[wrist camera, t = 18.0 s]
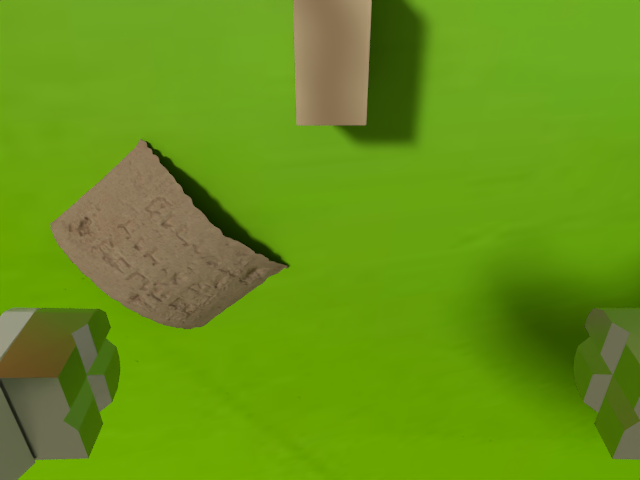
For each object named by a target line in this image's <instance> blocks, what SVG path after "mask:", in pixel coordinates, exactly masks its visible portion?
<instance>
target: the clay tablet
mask: <svg viewBox="0 0 640 480" xmlns="http://www.w3.org/2000/svg"><path fill="white" fill-rule="evenodd" d="M51 230H52V232H53V236H54V238H55V239H56V241H57V243H58V245H59V247H60V248H62V249H63V251H64V253H66V254H67V255H68V257H69V258H70V260H71V261H72V262H73V263H74V264H76V265H77V267H78V268H79V270H80V271H81V272H82V273H83V274H85V275H86V276H87V277H90V279H91V280H92V281H93V282H94V283H95V284H96V285H97V286H98V287H99V288H100V289H101V290H102V291H104V292H105V293H106V294H107V295H109V296H110V297H111V298H113V299H115V300H117V301H119V302H120V303H121V304H122V305H124V306H125V307H127V308H129V309H131V310H133V311H134V312H137V313H139V314H140V315H141V316H143V317H146V318H149V319H152V320H154V321H155V322H157V323H160V324H163V325H167V326H171V327H176V328H184V329H191V328H194V327H202V326H204V325H206V324H207V323H208V322H209V321H211V320H212V319H213V318H214V317H215V316H217V315H218V314H220V313H221V312H222V311H224V310H225V309H226V308H227V307H229V306H231V305H232V304H234V303H235V302H236V301H238V300H239V299H241V298H242V297H244V296H245V295H246V294H247V293H249V292H250V291H252V290H253V289H254V288H256V287H257V286H259V285H260V284H262V283H263V282H264V281H265V280H266V279H267V278H268V277H269V276H271V275H274V274H277V273H278V272H280V271H281V270H282V269H283V268H288V267H287V265H283V264H279V263H276V262H275V261H269V259H268V258H266V257H265V256H264V255H262V254H255V252H254V251H253V250H251V249H250V248H248V247H247V246H245V245H244V244H242V243H240V242H239V241H236V240H233V239H231V238H228V237H225V236H224V235H223V234H222V232H221V230H220V229H219V228H217V227H215V226H214V225H213V224H212V223H210V222H209V221H208V219H207V217H206V216H205V215H204V214H203V213H202V212H201V211H200V210H199V209H198V208H196V207H194V205H193V203H192V199H191V198H190V197H189V196H187V195H186V194H184V192H183V189H182V187H181V185H180V184H178V183H177V182H176V181H175V178H174V177H173V176H172V175H171V174H170V173H169V171H168V170H167V169H166V168H165V167H164V166H163V165H162V164H161V163H160V161H159V158H158V156H156V155H153V153H152V149H150V148H147V142H145V141H142V140H140V141H139V143H138V145H137V146H136V148H135V149H134V150H132V151H131V152H130V153H129V154H128V155H127V156H126V157H125V158H124V159H123V160H122V161H121V162H120V163H119V164H118V165H117V166H116V167H115V168H113V169H112V170H111V171H110V172H109V173H108V174H107V175H106V176H105V177H104V178H103V179H102V180H101V181H100V182H99V183H98V184H96V185H95V186H94V187H93V188H92V189H91V190H89V191H88V192H87V193H86V194H84V195H83V196H82V197H81V198H80V199H79V200H78V201H77V202H76V203H75V204H74V205H72V206H71V207H70V208H69V209H68V210H66V211H65V212H64V213H63V214H62V215H61V216H60V217H59V218H57V219H56V220H55V221H53V222H52V223H51Z"/></svg>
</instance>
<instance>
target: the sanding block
mask: <svg viewBox="0 0 640 480" xmlns="http://www.w3.org/2000/svg"><path fill="white" fill-rule="evenodd" d="M371 7H372V0H293V9H294V45H295V81H296V117H297V125H366V120H367V98H368V75H369V52H370V30H371Z"/></svg>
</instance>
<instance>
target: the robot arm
mask: <svg viewBox="0 0 640 480" xmlns="http://www.w3.org/2000/svg"><path fill="white" fill-rule="evenodd" d="M584 327H585V329H586V330H587V332H588V334H589V335H590V337H589V338H587V339H586V340H585V341H584V342H582V343H581V344H580V345H579V346H578V347H577V350H576V354H575V357H574V361H573V364H574V379H575V383H576V386H577V390H578V392H579V394H580V396H581V398H582V400H583V402H585V403H586V404H587V405H589V406H590V407H591V408H593V409H594V410H595V411H597V412H598V415H597V418H596V421H595V423H594V424H595V426H596V428H597V430H598V432H599V434H600V436H601V437H602V439H603V441H604V443H605V445H606V447H607V449H608V451H609V453H610V455H611V457H612V459H640V308H594V309H593V310H592V311H591V312H590V313H589V314H588V317H587V320H586V323H585V325H584ZM110 328H111V327H110V324H109V321H108V318H107V315H106V312H104V311H102V310H101V309H74V308H41V309H40V308H11V309H9V310H7V311H5V312H4V313H3V314H2V315H1V316H0V480H17V479H18V478H19V477H20V476H22V475H23V474H24V473H25V472H26V471H27V470H28V469H29V468H30V467H31V466H32V465H33V464H34V463H35V460H44V459H80V458H89V456H90V453H91V451H92V449H93V446H94V444H95V441H96V439H97V437H98V434H99V432H100V430H101V427H102V425H103V422H102V419H101V416H100V413H99V412H100V411H101V410H102V409H104V408H105V407H106V406H107V405H109V404H110V403H111V402H112V401H113V398H114V396H115V393H116V391H117V388H118V382H119V376H120V361H119V355H118V351H117V347H116V346H115V345H113V344H112V343H111V342H110V341H109V340H107V339H106V336H107V334H108V332H109V330H110Z"/></svg>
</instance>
